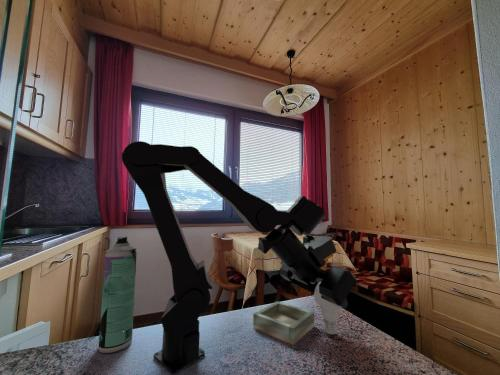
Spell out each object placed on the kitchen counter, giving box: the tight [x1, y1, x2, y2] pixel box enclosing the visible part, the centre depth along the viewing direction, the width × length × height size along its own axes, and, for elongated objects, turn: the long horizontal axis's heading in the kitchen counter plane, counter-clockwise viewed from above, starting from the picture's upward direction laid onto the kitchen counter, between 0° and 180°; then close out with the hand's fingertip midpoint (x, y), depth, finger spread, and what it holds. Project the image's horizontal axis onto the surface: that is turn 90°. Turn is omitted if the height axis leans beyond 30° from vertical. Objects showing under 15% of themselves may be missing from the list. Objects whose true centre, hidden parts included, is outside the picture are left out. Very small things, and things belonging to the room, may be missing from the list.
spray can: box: [98, 236, 138, 354], centre depth 43 cm, size 6×6×20 cm
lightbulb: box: [313, 281, 343, 336], centre depth 48 cm, size 6×6×11 cm
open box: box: [252, 300, 315, 346], centre depth 50 cm, size 10×10×3 cm
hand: (334, 300), depth 49 cm, fingers closed on lightbulb, 6 cm apart
